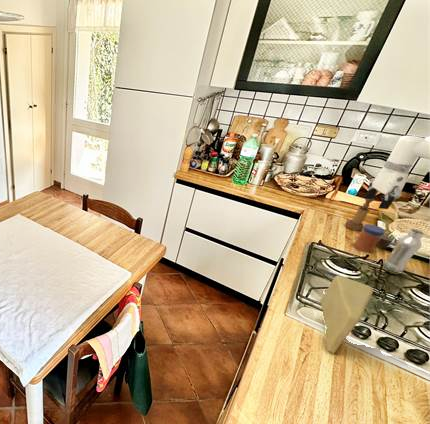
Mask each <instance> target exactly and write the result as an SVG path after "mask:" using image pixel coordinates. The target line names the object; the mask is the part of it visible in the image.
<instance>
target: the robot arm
mask: <svg viewBox="0 0 430 424" xmlns="http://www.w3.org/2000/svg"><path fill="white" fill-rule="evenodd" d="M418 158H422V159H426V160H429V161H430V136H427V137H421V136H416V135H403V136H401V137H399V139H398V140H397V142H396V144H395V146H394V147H393V149H392V151H391V153H390V155H388V157H387V160H386V161H385V163H384V165H383V167H382V168H381V169H380V171H378V173H377V175H376V176H375V177H373V178H371V179H370V181H369V187H368V188H367V189H368V190H367V192H366V194H365V195H364V197H363V198H364V200H365V199H374V200H375V197H376V195H377V193H378V192H379V193H381V194H383V195H384V198H383V199H382V200H381V202H380V204H379V205H378V209H381V210H388V209H390V206H391V205H392V203H393V202H395V201H397V200H398V199H399V198H400V197H402V196H403V194H402V191H403V189H404V187H405V184H406V182H407V181H408V177H409V173H410V170H411V169H412V167H413V166H414V164H415V163H416V160H417V159H418Z"/></svg>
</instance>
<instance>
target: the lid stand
mask: <svg viewBox="0 0 430 424" xmlns="http://www.w3.org/2000/svg"><path fill="white" fill-rule="evenodd" d="M392 242H393V238H392V237H389V236H386V235H382V237H381V239H380V240H379V242H378V243H377V245H376V246H375V247H377V248H379V249H383V250H386V249H388V248H389V247H390V245H391V243H392ZM387 246H388V247H387Z"/></svg>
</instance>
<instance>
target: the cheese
mask: <svg viewBox="0 0 430 424" xmlns="http://www.w3.org/2000/svg"><path fill="white" fill-rule="evenodd" d="M373 293H374V288H373V287H372V286H370V285H368V284H365V283H363V282H359V281H357V280H353V279H351V278H348V277H345V276H342V275H335V276H334V278H333V279H332V281H331V282H330V284H329V286H328V288H327V289H326V291H325V293H324V294H323V296H322V297H321V299H320V301H319V303H321V305H322V308H323V316H324V320H325V324H326V327H327V329H326V334H325V333H324V340H325V345H326V350H327V352H330V353H332V354H335V353H336V352H337V350H338V349H339V347H340V346H341V344H342V343H343V342H344V341H345V339H346V338H347V337H348V336H349V334H350V333H351V332H352V331H353V330H354V328H355V327H356V325H357V324H358V323H359V321H360V320H361V318H362V316H363V314H364V312H365V310H366V307H367V305H368V304H369V301H370V299H371V298H372V295H373ZM321 318H322V317H321ZM324 320H323V318H322V323H323V324H324ZM325 336H326V337H325Z"/></svg>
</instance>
